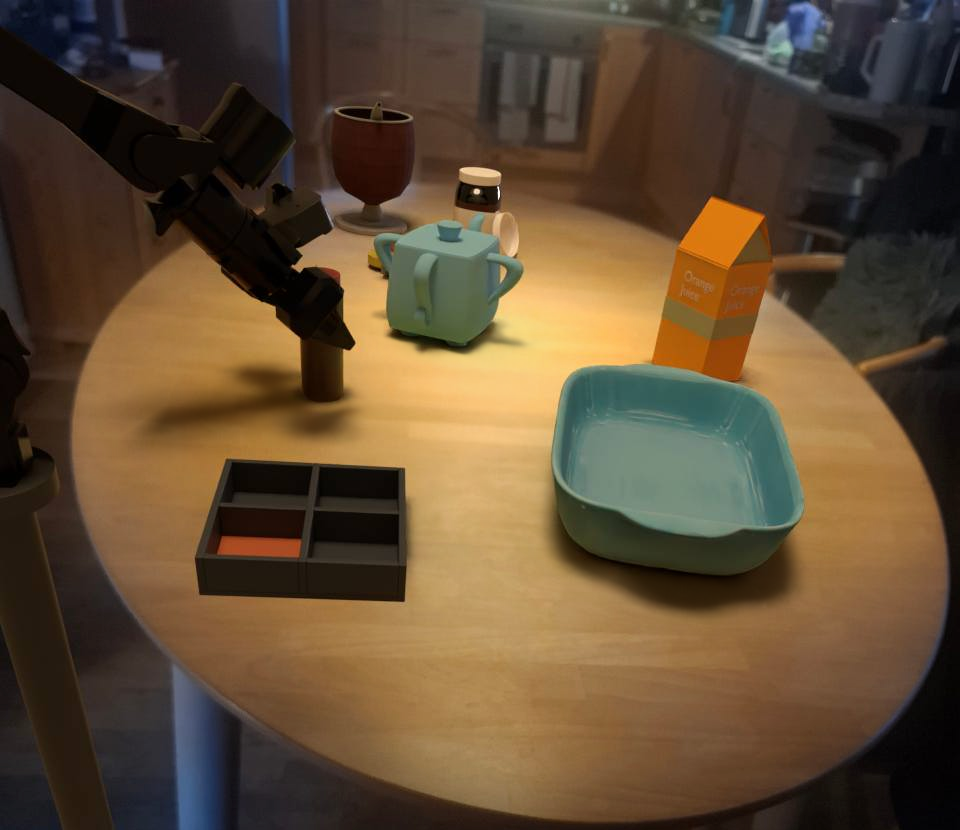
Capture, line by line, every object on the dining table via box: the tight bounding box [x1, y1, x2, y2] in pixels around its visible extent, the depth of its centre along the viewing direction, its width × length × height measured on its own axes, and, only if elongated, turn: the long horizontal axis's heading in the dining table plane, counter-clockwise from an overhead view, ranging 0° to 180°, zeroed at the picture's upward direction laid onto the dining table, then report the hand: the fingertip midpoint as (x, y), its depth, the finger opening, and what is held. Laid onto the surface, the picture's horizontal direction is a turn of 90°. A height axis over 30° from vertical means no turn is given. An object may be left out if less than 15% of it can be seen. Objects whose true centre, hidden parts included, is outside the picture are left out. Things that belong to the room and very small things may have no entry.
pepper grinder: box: [299, 266, 344, 403], centre depth 95 cm, size 5×5×13 cm
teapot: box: [373, 213, 525, 347], centre depth 115 cm, size 18×16×14 cm
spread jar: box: [452, 166, 520, 258], centre depth 146 cm, size 12×11×12 cm
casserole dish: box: [550, 363, 806, 576], centre depth 86 cm, size 37×22×7 cm, turn 172°
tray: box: [194, 458, 408, 603], centre depth 74 cm, size 16×16×4 cm
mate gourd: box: [330, 101, 416, 237], centre depth 149 cm, size 16×14×20 cm
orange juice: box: [651, 195, 774, 382], centre depth 109 cm, size 8×9×20 cm
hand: (332, 331), depth 96 cm, fingers open, 9 cm apart
